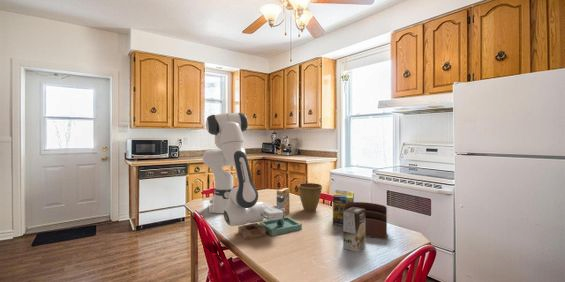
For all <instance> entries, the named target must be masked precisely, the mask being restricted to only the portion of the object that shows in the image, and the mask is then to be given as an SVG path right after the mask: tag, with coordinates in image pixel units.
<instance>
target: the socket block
mask: <svg viewBox="0 0 565 282" xmlns="http://www.w3.org/2000/svg"><path fill="white" fill-rule="evenodd" d="M237 228H238V234H239V235H240V236H241V237H242V238H244V240H251V239H255V238H261V237H264V236H266V231H265V229H264V228H263V227H262V226H260V223H259V222H255V223H248V224H244V225H238V227H237Z"/></svg>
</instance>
